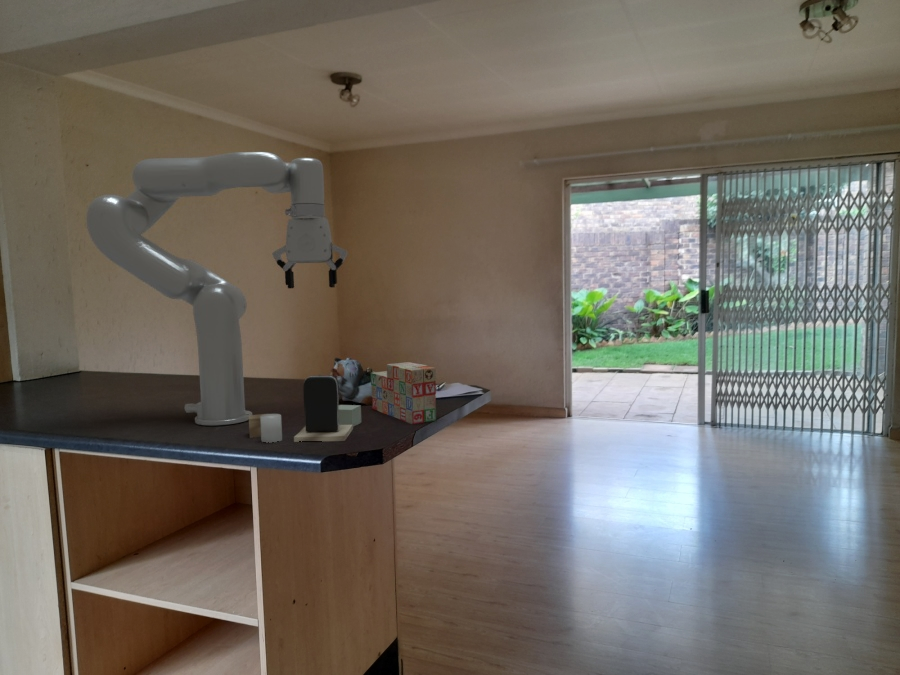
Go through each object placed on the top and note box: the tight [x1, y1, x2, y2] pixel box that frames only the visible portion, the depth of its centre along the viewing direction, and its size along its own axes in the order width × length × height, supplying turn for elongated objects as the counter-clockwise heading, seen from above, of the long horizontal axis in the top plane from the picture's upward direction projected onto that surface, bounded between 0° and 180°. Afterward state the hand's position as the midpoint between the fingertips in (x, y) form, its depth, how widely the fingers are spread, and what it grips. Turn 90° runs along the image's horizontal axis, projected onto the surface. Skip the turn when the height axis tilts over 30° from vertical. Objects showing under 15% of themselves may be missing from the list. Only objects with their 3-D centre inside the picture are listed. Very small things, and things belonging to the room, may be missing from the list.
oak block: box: [248, 413, 267, 439], centre depth 128 cm, size 4×4×4 cm
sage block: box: [338, 404, 362, 428], centre depth 136 cm, size 5×5×4 cm
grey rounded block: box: [260, 413, 283, 444], centre depth 123 cm, size 4×4×5 cm
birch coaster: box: [293, 425, 354, 443], centre depth 126 cm, size 10×10×1 cm
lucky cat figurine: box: [329, 357, 375, 406], centre depth 163 cm, size 15×12×14 cm
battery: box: [302, 374, 340, 432], centre depth 126 cm, size 7×4×11 cm, turn 89°
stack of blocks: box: [371, 361, 437, 425], centre depth 145 cm, size 21×6×12 cm, turn 32°
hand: (311, 287), depth 144 cm, fingers open, 9 cm apart
